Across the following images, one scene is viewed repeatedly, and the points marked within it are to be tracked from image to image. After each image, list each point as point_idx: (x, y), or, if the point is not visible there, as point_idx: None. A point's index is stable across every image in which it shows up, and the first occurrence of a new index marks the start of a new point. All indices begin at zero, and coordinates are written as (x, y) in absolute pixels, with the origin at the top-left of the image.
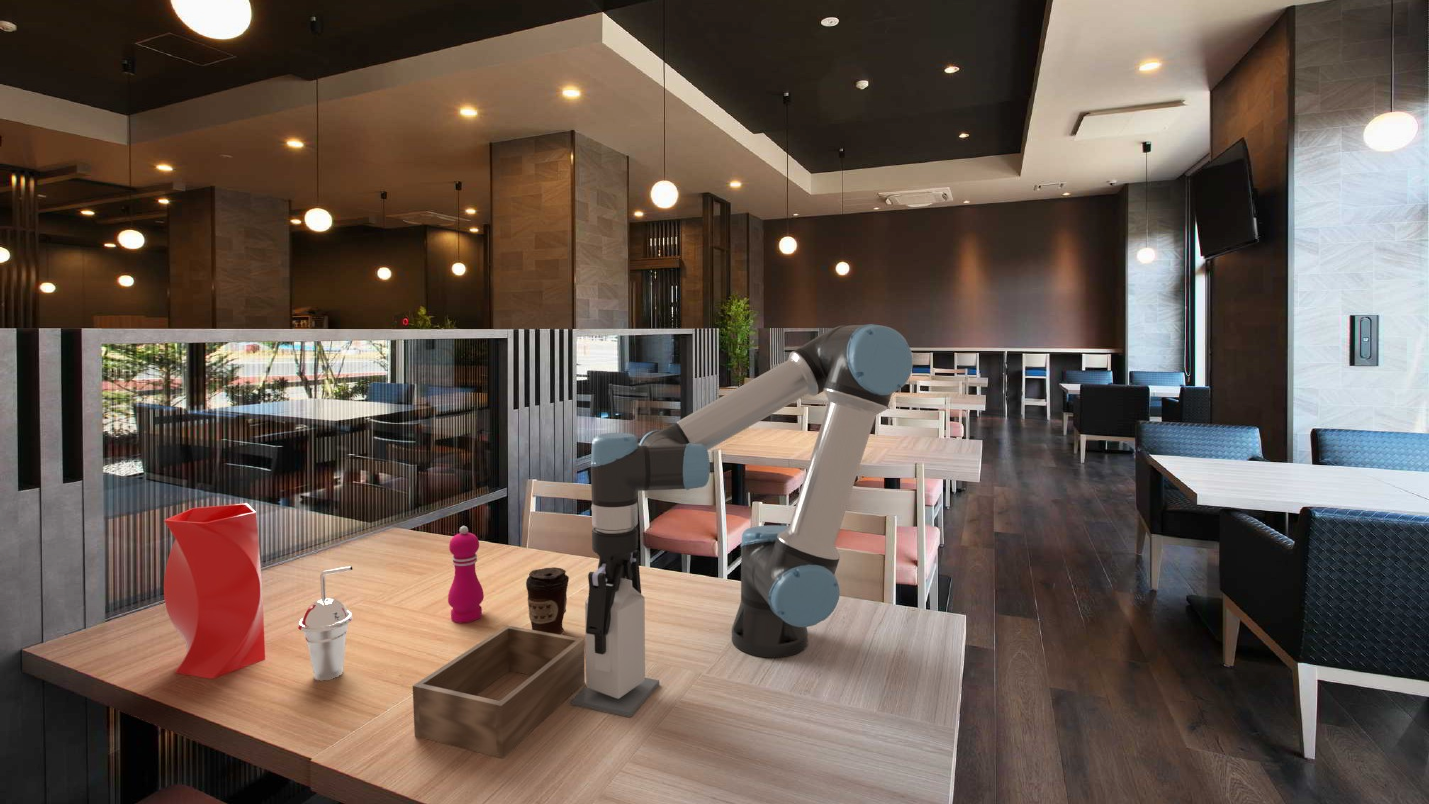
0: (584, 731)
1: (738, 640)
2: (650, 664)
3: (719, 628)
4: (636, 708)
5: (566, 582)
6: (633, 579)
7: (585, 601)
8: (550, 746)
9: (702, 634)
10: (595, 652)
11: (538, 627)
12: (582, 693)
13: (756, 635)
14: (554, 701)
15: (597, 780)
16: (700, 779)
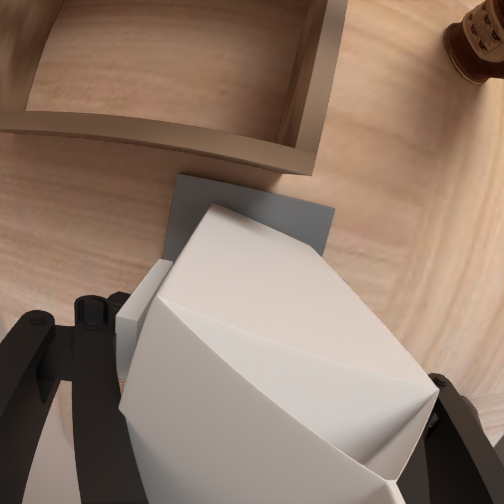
0: (93, 240)
1: None
2: (376, 301)
3: (476, 369)
4: None
5: None
6: (439, 494)
7: (158, 301)
8: (45, 195)
9: (466, 353)
10: (117, 293)
11: (458, 28)
12: (211, 191)
13: None
14: (145, 145)
15: (9, 298)
16: (63, 412)
